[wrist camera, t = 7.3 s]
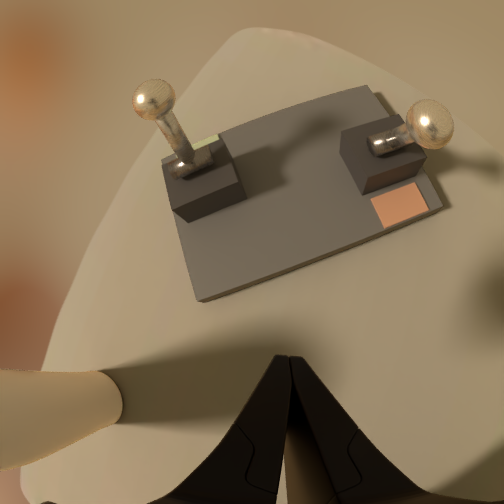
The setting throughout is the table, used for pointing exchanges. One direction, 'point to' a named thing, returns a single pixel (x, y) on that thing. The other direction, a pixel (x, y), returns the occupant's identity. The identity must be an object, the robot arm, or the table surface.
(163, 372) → the table surface
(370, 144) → the silver lever handle
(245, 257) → the switch board
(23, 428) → the beige cylinder
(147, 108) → the metallic ball-topped lever
